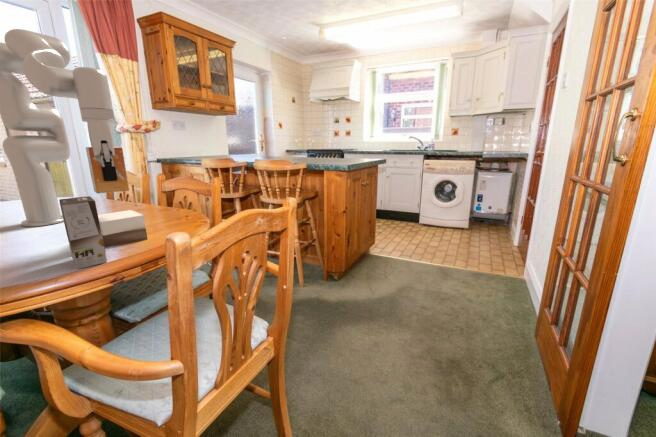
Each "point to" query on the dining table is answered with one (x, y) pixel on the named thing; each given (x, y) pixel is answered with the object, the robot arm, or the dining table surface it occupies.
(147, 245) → the dining table surface
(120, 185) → the small box
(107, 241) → the base block
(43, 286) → the dining table surface
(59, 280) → the dining table surface
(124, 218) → the top block
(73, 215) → the coffee box
